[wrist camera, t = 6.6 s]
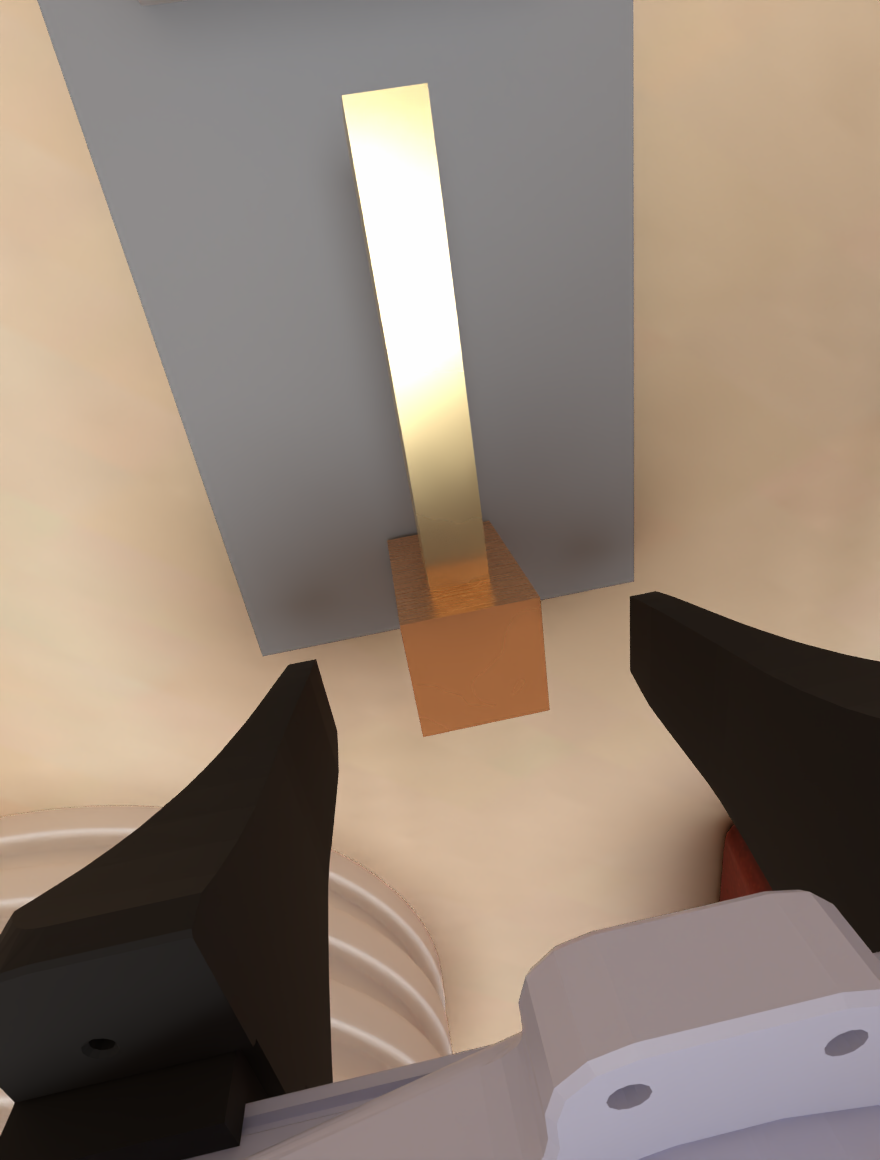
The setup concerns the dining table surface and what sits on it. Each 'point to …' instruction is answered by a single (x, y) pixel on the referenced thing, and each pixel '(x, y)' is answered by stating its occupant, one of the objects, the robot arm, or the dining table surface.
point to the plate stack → (355, 929)
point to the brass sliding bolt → (437, 439)
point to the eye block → (343, 281)
